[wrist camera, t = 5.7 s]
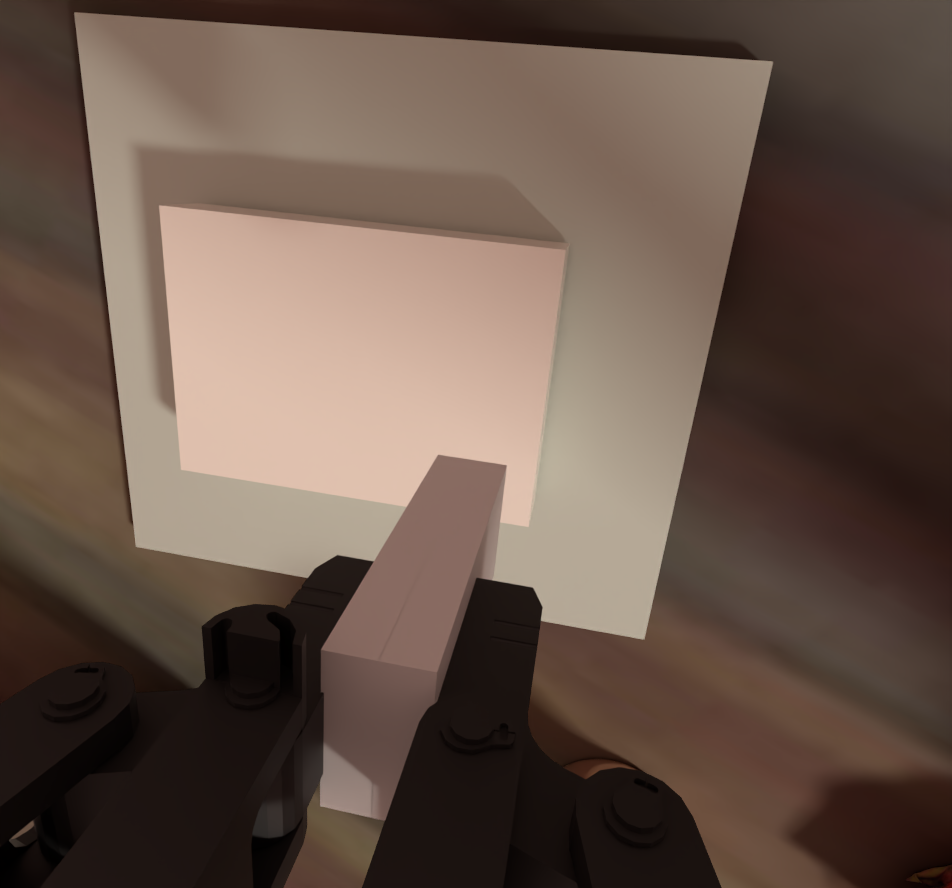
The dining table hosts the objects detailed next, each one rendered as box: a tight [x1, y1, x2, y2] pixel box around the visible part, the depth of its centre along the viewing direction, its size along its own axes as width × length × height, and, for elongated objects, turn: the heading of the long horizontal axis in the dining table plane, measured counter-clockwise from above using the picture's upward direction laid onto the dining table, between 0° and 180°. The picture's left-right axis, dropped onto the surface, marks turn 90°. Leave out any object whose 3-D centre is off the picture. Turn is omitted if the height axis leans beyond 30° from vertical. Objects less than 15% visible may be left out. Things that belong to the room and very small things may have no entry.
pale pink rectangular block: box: [159, 203, 570, 527], centre depth 25 cm, size 3×10×14 cm
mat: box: [74, 12, 773, 639], centre depth 27 cm, size 24×22×1 cm
